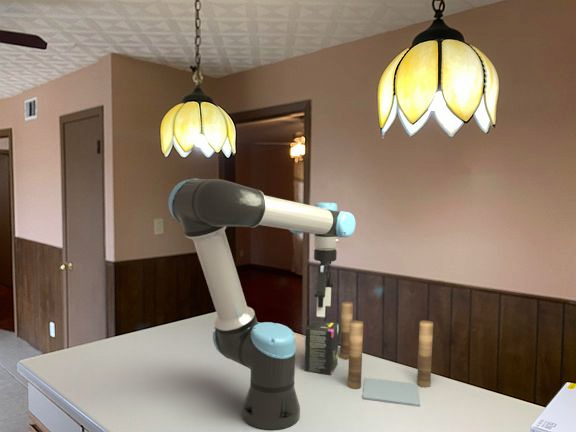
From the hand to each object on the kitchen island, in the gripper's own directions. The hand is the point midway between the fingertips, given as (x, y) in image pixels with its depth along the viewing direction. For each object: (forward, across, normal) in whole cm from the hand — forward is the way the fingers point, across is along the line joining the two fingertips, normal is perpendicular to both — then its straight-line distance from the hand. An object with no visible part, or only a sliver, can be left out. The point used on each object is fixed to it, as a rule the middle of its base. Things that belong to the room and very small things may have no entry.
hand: (323, 311), depth 150 cm
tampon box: (+20, 0, 0) cm, 20 cm away
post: (+20, -5, -33) cm, 38 cm away
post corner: (+19, -12, -12) cm, 26 cm away
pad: (+19, -13, -23) cm, 33 cm away
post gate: (+20, +11, -7) cm, 23 cm away
